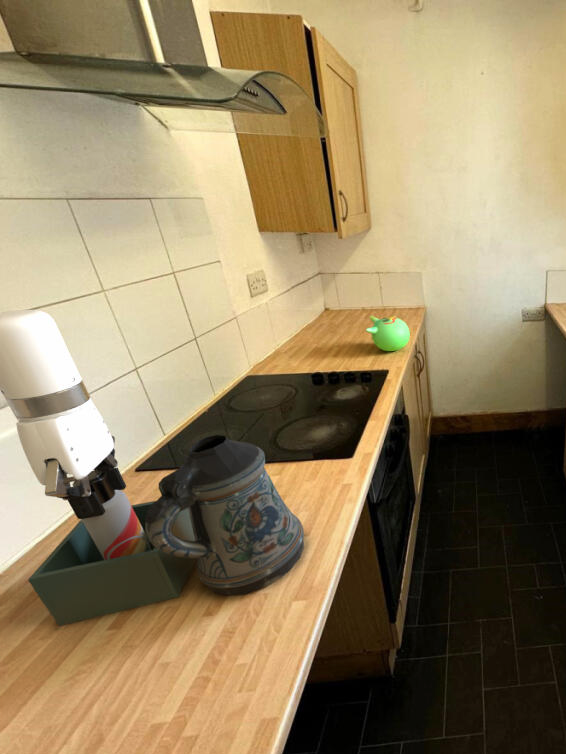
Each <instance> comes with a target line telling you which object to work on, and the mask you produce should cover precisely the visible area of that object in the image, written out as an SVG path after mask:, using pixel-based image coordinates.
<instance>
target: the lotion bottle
mask: <svg viewBox="0 0 566 754" xmlns="http://www.w3.org/2000/svg"><path fill="white" fill-rule="evenodd" d="M88 479H89V484H90V489H91V492H96V494H97V495H98V497H99V499H100V501H101V503H102V505H103V507H104V509H105V513H104V514H103V515H101V516H96V517H90V518H85V519H80V520H82V521H83V523H84V525H85V527H86V528H87V530H88V532H89V534H90V535H91V537H92V539H93V541H94V542H95V544H96V546H97V548H98V549H99V551H100V553H101V555H102V556H103V558H104V560H108V559H113V558H118V557H122V556H127V555H132V554H136V553H141V552H146V551H151V550H153V548H152V546H151V544H150V542H149V540H148V538H147V536H146V534H145V532H144V530H143V528H142V526H141V524H140V522H139V520H138V518H137V516H136V514H135V512H134V510H133V508H132V506H131V505H132V504H131V502H130V500H129V498H128V496H127V494H126V492H124V490H114V488H113V486H112V484H111V482H110V480H109V478H108V476H107V475H106V473H105V472H104V471H101V470H92V471H91V472H90V473H89V474H88ZM72 487H77V488H80V487H79V482H78V481H74V482H73V483H72Z"/></svg>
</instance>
